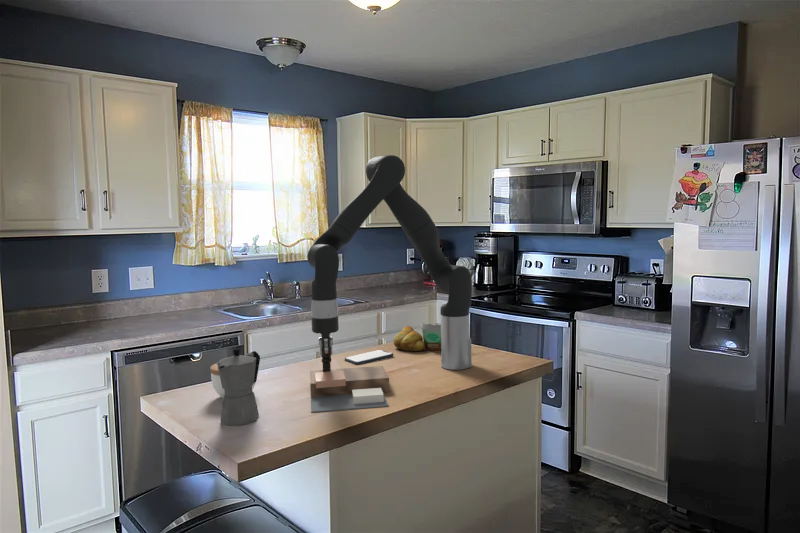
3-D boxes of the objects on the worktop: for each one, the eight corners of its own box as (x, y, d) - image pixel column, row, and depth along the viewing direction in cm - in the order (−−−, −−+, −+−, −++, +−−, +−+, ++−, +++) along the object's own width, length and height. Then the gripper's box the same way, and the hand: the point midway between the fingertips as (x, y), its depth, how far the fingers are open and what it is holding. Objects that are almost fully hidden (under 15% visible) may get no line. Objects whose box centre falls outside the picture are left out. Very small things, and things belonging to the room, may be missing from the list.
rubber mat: (382, 392, 155) (382, 391, 155) (388, 406, 144) (388, 405, 144) (310, 398, 152) (310, 397, 152) (311, 412, 140) (311, 411, 140)
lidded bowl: (256, 401, 150) (254, 362, 149) (208, 405, 148) (205, 365, 147) (260, 388, 162) (258, 351, 161) (215, 391, 160) (213, 354, 159)
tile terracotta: (343, 376, 156) (343, 370, 156) (345, 385, 150) (345, 378, 150) (314, 379, 155) (314, 372, 154) (316, 388, 149) (315, 381, 148)
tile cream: (383, 394, 146) (383, 401, 146) (380, 387, 152) (381, 394, 152) (353, 396, 145) (353, 404, 145) (352, 389, 151) (352, 396, 151)
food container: (418, 352, 200) (417, 325, 200) (420, 348, 207) (420, 321, 206) (452, 352, 198) (451, 325, 198) (453, 348, 204) (453, 322, 204)
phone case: (357, 367, 185) (395, 357, 194) (356, 362, 185) (394, 353, 194) (343, 362, 192) (380, 353, 202) (343, 357, 192) (380, 349, 201)
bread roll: (430, 350, 203) (430, 329, 202) (409, 355, 197) (409, 333, 196) (409, 344, 213) (409, 324, 212) (389, 348, 207) (388, 327, 207)
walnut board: (383, 378, 169) (382, 365, 168) (389, 391, 156) (389, 377, 155) (310, 383, 165) (310, 370, 165) (310, 397, 152) (310, 383, 152)
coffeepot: (238, 431, 129) (234, 356, 128) (206, 426, 133) (202, 353, 131) (276, 409, 144) (273, 341, 142) (246, 405, 147) (243, 339, 145)
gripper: (339, 318, 149) (341, 380, 151) (337, 310, 162) (338, 367, 164) (311, 319, 148) (313, 382, 149) (311, 311, 161) (313, 369, 162)
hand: (326, 374), depth 157 cm, fingers closed
